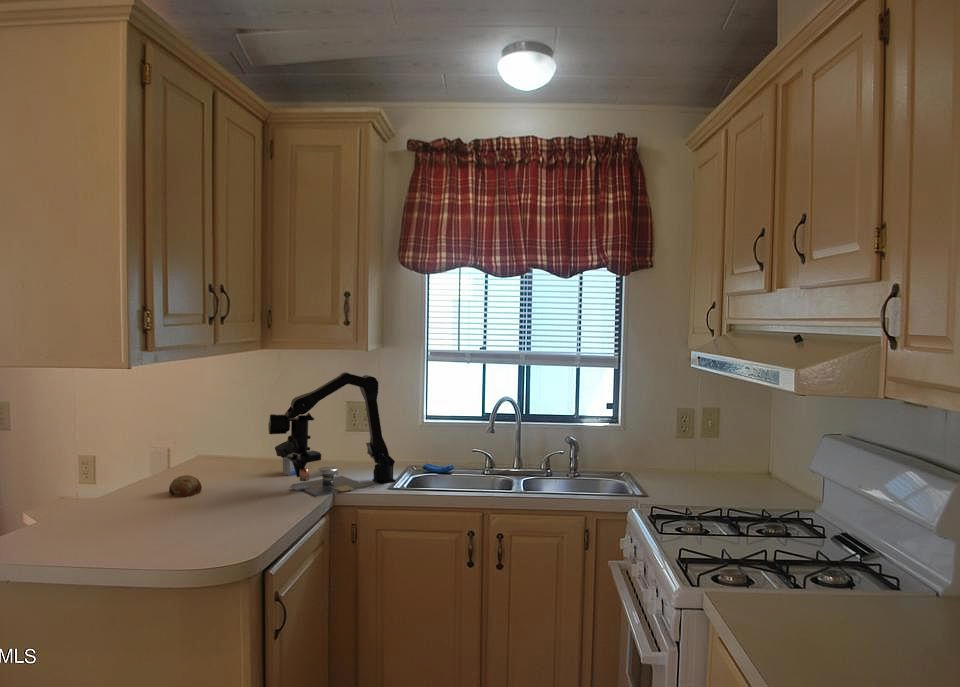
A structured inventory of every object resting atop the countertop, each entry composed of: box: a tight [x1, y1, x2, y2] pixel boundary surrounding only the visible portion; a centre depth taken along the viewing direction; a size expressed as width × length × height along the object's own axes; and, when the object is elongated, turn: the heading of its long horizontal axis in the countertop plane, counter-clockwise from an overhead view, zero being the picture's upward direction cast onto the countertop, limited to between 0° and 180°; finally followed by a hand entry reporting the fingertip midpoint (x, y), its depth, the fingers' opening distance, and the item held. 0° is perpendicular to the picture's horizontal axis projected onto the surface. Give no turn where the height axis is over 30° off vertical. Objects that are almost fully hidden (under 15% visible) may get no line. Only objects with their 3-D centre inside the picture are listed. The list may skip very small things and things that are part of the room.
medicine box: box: [282, 455, 307, 477], centre depth 239 cm, size 8×4×9 cm, turn 143°
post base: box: [289, 475, 368, 498], centre depth 219 cm, size 22×20×3 cm
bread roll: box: [168, 474, 203, 498], centre depth 209 cm, size 10×10×8 cm
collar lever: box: [299, 466, 339, 482], centre depth 219 cm, size 16×7×4 cm, turn 146°
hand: (298, 476), depth 216 cm, fingers closed
